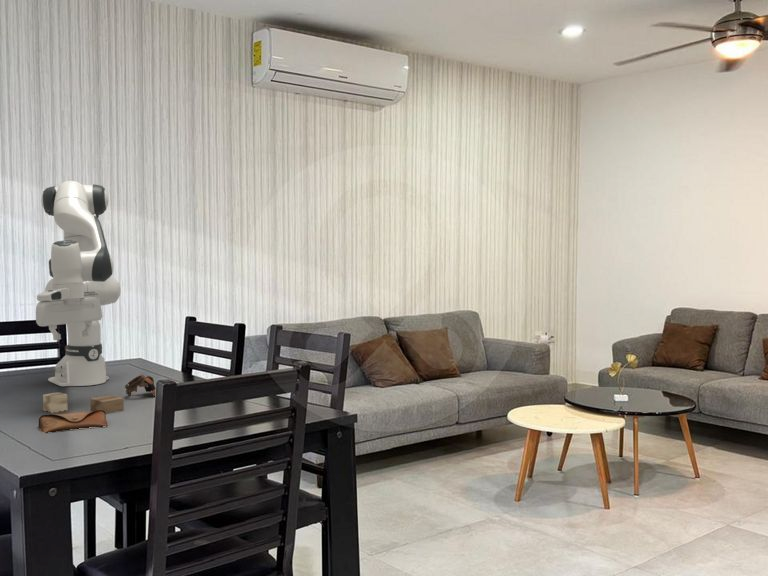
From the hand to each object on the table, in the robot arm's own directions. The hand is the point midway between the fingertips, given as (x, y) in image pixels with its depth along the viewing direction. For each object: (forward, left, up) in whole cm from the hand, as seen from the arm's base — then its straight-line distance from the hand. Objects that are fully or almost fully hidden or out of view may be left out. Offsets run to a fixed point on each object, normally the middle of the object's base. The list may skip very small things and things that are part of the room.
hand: (71, 338), depth 234 cm
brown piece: (-1, +26, -22) cm, 34 cm away
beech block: (-2, -4, -22) cm, 23 cm away
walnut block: (+10, +6, -22) cm, 25 cm away
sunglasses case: (+21, -12, -23) cm, 33 cm away
